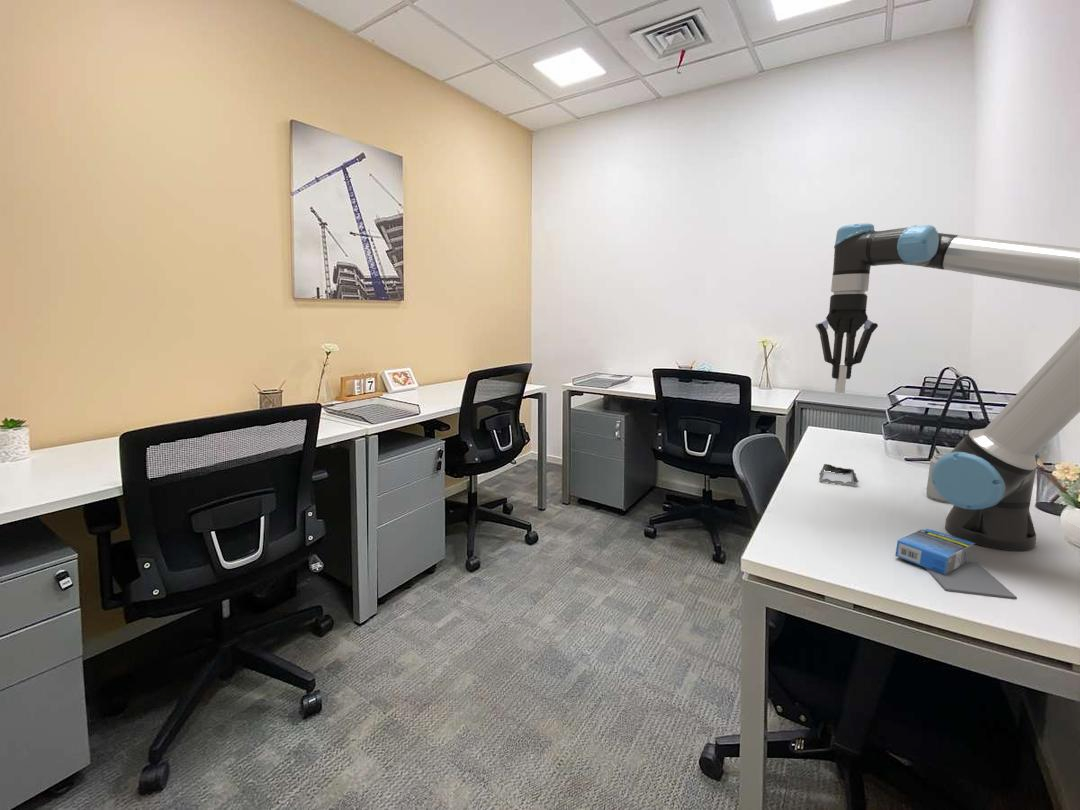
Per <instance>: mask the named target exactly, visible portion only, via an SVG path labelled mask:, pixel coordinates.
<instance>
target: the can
mask: <svg viewBox="0 0 1080 810" xmlns="http://www.w3.org/2000/svg"><path fill="white" fill-rule="evenodd" d="M945 454H946V453H936V454H935V453H934V454H933V457H932V458H931V459H930V463H929V470H928V476H927V485H926V493H925V494H926V496H928V497H929V499H931V500H932V501H936V502H940V503H945V504H950V503H949V502H948V501H946V500H945V499H944V498H942V497H941V496H940V495H939V493H938V492H937V491H936V489H935V488H934V486H933V483H932V479H931V472H932V468H933V466H934V464H935V463H936V462H937V460H938V459H939V458H940V457H942V456H943V455H945Z"/></svg>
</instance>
